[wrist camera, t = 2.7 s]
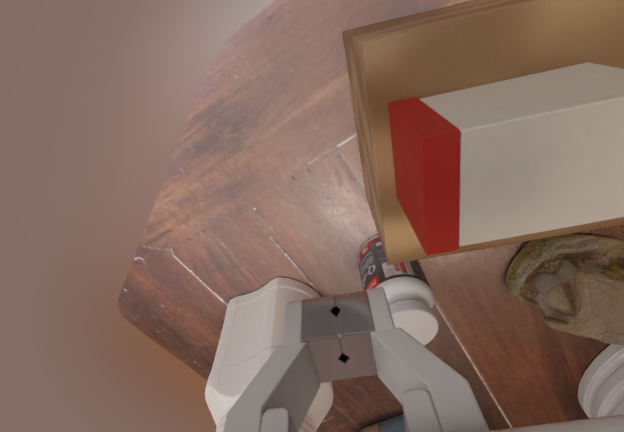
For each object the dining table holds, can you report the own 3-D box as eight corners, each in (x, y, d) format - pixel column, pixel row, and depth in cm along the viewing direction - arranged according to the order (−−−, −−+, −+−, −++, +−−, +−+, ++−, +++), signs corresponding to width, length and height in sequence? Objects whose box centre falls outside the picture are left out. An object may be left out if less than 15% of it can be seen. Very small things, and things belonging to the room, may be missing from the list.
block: (342, 31, 25) (360, 42, 17) (571, -23, 24) (722, -42, 15) (366, 197, 32) (388, 265, 24) (544, 163, 31) (636, 222, 22)
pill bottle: (354, 235, 34) (370, 309, 26) (411, 227, 34) (447, 299, 26) (359, 278, 37) (375, 358, 29) (412, 271, 37) (444, 350, 28)
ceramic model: (657, 246, 36) (769, 321, 27) (587, 320, 41) (661, 402, 33) (539, 217, 34) (618, 288, 25) (481, 299, 39) (531, 380, 31)
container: (387, 102, 18) (420, 137, 13) (586, 59, 17) (702, 78, 12) (396, 198, 21) (426, 256, 16) (567, 165, 20) (654, 215, 15)
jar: (259, 354, 44) (240, 499, 31) (211, 307, 39) (165, 452, 26) (340, 321, 41) (356, 466, 28) (298, 266, 36) (294, 407, 24)
